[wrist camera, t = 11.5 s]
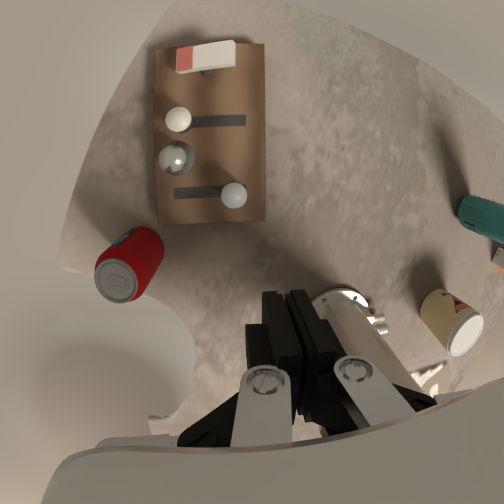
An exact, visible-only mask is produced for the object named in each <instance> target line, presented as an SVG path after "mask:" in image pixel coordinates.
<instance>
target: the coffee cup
mask: <svg viewBox="0 0 504 504" xmlns="http://www.w3.org/2000/svg"><path fill="white" fill-rule="evenodd" d="M420 317H421V319H422V320H423V322H424V323H425V324H426V325H427V327H428V328H429V329H430V330H431V331H432V333H433V334H434V335H435V336H436V338H437V339H438V340H439V341H440V343H441V344H442V345H443V346H444V348H445V349H446V351H447V352H448V354H450V355H452V356H460V355H462V354H464V353H465V352H467V351H468V350H469V349H470V348H471V347H472V346H473V345H474V343H475V342H476V341H477V339H478V338H479V336H480V334H481V331H482V328H483V317H482V315H481V313H480V312H478V311H476V310H474V309H473V308H472V307H470V306H469V305H467V304H466V303H464V302H462V301H461V300H459V299H458V298H456V297H455V296H453V295H452V294H450V293H448V292H447V291H445V290H443V289H436V290H434V291H432V292H431V293H430V294H429V295H428V296H427V297H426V298H425V300H424V301H423V303H422V305H421V309H420Z"/></svg>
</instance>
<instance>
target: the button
mask: <svg viewBox="0 0 504 504" xmlns="http://www.w3.org/2000/svg"><path fill="white" fill-rule="evenodd" d="M187 162H188V154H187V152H186V150H185V149H184V148H182V147H180V146H176V145H169V146H167V147H165V148H164V149H163V150H162V151H161V152H160V154H159V164H160V166H161V168H162V169H163V170H164V171H166V172H170V173H173V172H177V171H180V170H182V169H183V168H184V167H185V166H186V165H187Z"/></svg>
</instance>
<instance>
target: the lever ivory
mask: <svg viewBox="0 0 504 504" xmlns="http://www.w3.org/2000/svg"><path fill="white" fill-rule="evenodd" d="M165 121H166V125H167V127H168V128H169V129H170V130H172V131H175V132H178V133H185V132H188V131H189V130H190V129H191V128H192V127H193V124H194V118H193V116H192V115H191V114H190V112H189V111H188V110H187V109H186V108H184V107H175V108H173V109H171V110H170V111H169V112H168V113H167V115H166V120H165Z"/></svg>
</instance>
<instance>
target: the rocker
mask: <svg viewBox="0 0 504 504" xmlns="http://www.w3.org/2000/svg"><path fill="white" fill-rule="evenodd" d="M235 49H236V43H235V42H234V41H233V40H227V41H220V42H214V43H208V44H202V45H197V46H188V47H184V48H179V49H177V55H176V72H177V73H179V74H185V73H190V72H196V71H202V70H209V69H216V68H224V67H233V66H235Z"/></svg>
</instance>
